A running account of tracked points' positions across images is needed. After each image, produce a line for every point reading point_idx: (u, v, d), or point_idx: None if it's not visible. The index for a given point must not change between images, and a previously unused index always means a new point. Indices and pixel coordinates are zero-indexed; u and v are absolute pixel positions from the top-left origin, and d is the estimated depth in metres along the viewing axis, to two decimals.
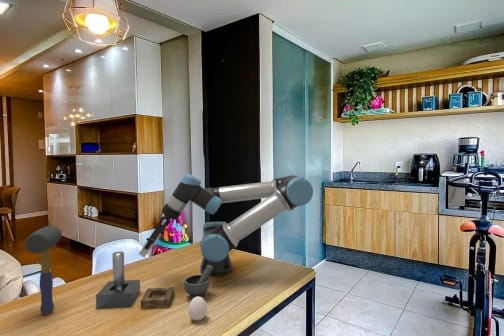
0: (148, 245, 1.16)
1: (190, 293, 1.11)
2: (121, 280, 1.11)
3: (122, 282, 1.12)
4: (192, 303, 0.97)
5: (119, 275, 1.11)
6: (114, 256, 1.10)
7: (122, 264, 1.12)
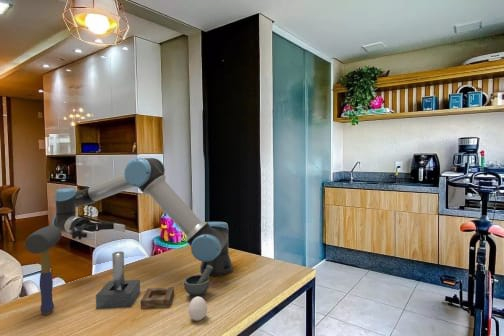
0: (81, 234, 1.14)
1: (190, 293, 1.11)
2: (121, 280, 1.12)
3: (122, 282, 1.12)
4: (192, 303, 0.97)
5: (119, 275, 1.11)
6: (114, 256, 1.10)
7: (122, 264, 1.12)
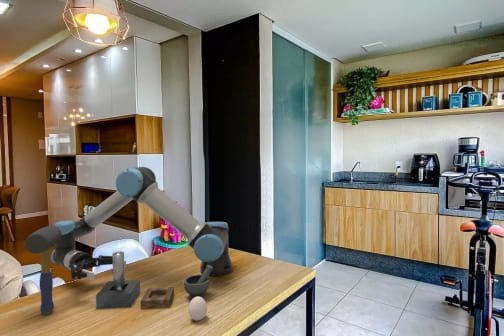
0: (80, 274, 1.10)
1: (190, 293, 1.11)
2: (121, 280, 1.11)
3: (122, 282, 1.12)
4: (192, 303, 0.97)
5: (119, 275, 1.11)
6: (114, 256, 1.10)
7: (122, 264, 1.12)
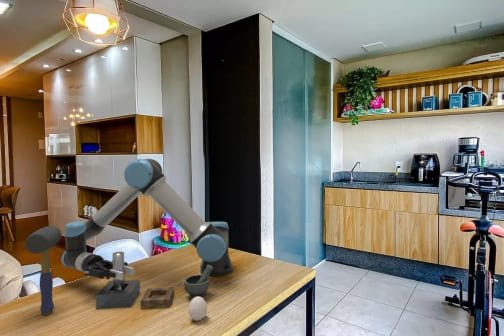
0: (109, 274, 1.09)
1: (190, 293, 1.11)
2: (121, 280, 1.11)
3: (122, 282, 1.12)
4: (192, 303, 0.97)
5: None
6: (114, 256, 1.10)
7: (122, 264, 1.12)
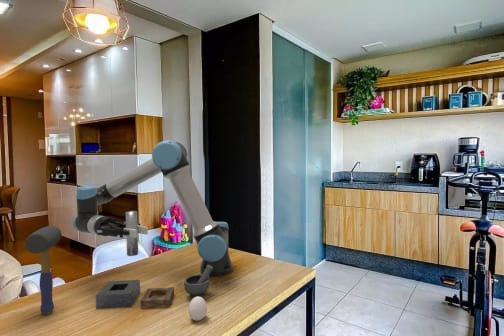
0: (123, 232, 1.08)
1: (190, 293, 1.11)
2: (135, 239, 1.10)
3: (136, 241, 1.10)
4: (192, 303, 0.97)
5: None
6: (127, 214, 1.09)
7: (135, 223, 1.10)
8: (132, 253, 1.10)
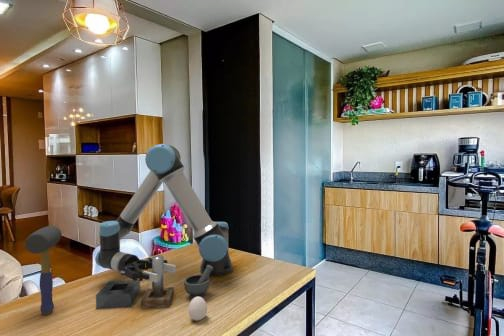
0: (143, 276, 1.06)
1: (190, 293, 1.11)
2: (161, 285, 1.10)
3: (162, 286, 1.10)
4: (192, 303, 0.97)
5: (159, 279, 1.09)
6: (154, 260, 1.09)
7: (162, 268, 1.10)
8: None
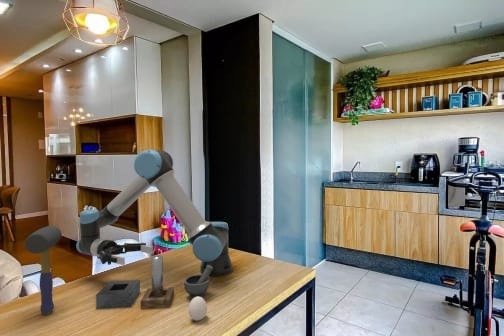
0: (110, 259, 1.12)
1: (190, 293, 1.11)
2: (160, 284, 1.10)
3: (161, 286, 1.10)
4: (192, 303, 0.97)
5: (159, 279, 1.09)
6: (153, 260, 1.09)
7: (161, 268, 1.10)
8: None
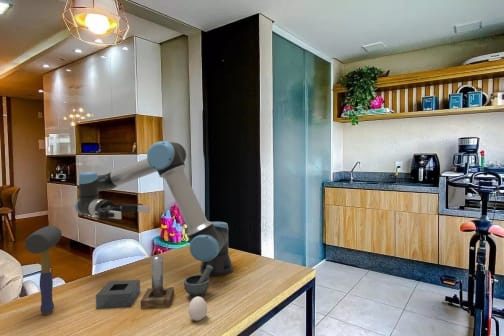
0: (108, 214, 1.15)
1: (190, 293, 1.11)
2: (160, 284, 1.10)
3: (161, 286, 1.10)
4: (192, 303, 0.97)
5: (158, 279, 1.09)
6: (153, 260, 1.09)
7: (161, 268, 1.10)
8: None
